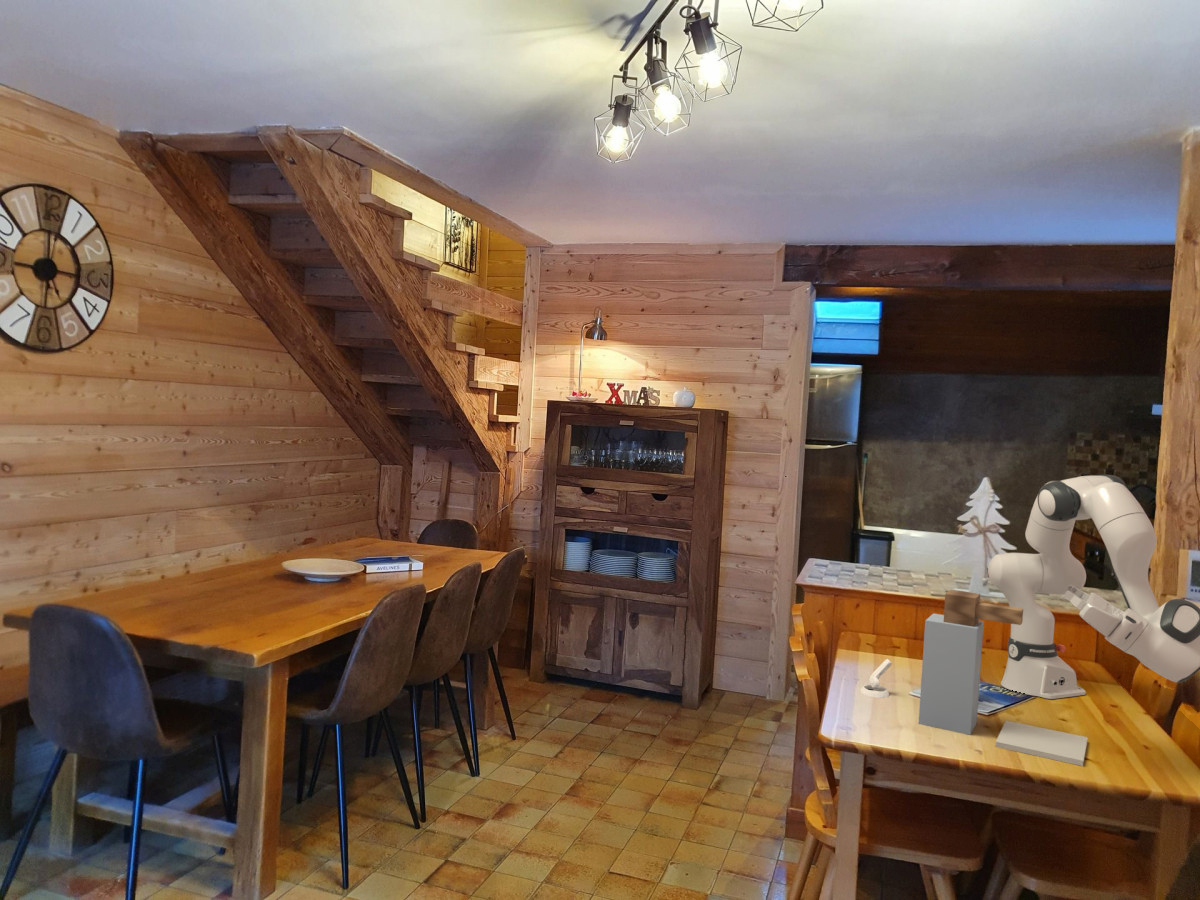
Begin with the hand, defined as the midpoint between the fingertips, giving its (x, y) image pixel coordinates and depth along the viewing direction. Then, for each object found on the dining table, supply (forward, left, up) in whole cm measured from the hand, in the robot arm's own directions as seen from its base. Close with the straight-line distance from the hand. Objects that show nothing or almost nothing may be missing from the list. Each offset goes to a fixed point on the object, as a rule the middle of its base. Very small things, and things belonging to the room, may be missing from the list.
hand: (1066, 590), depth 206 cm
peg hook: (+13, -11, -11) cm, 21 cm away
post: (+18, -16, -37) cm, 44 cm away
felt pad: (+3, -1, -37) cm, 37 cm away
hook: (+24, -40, -37) cm, 60 cm away
